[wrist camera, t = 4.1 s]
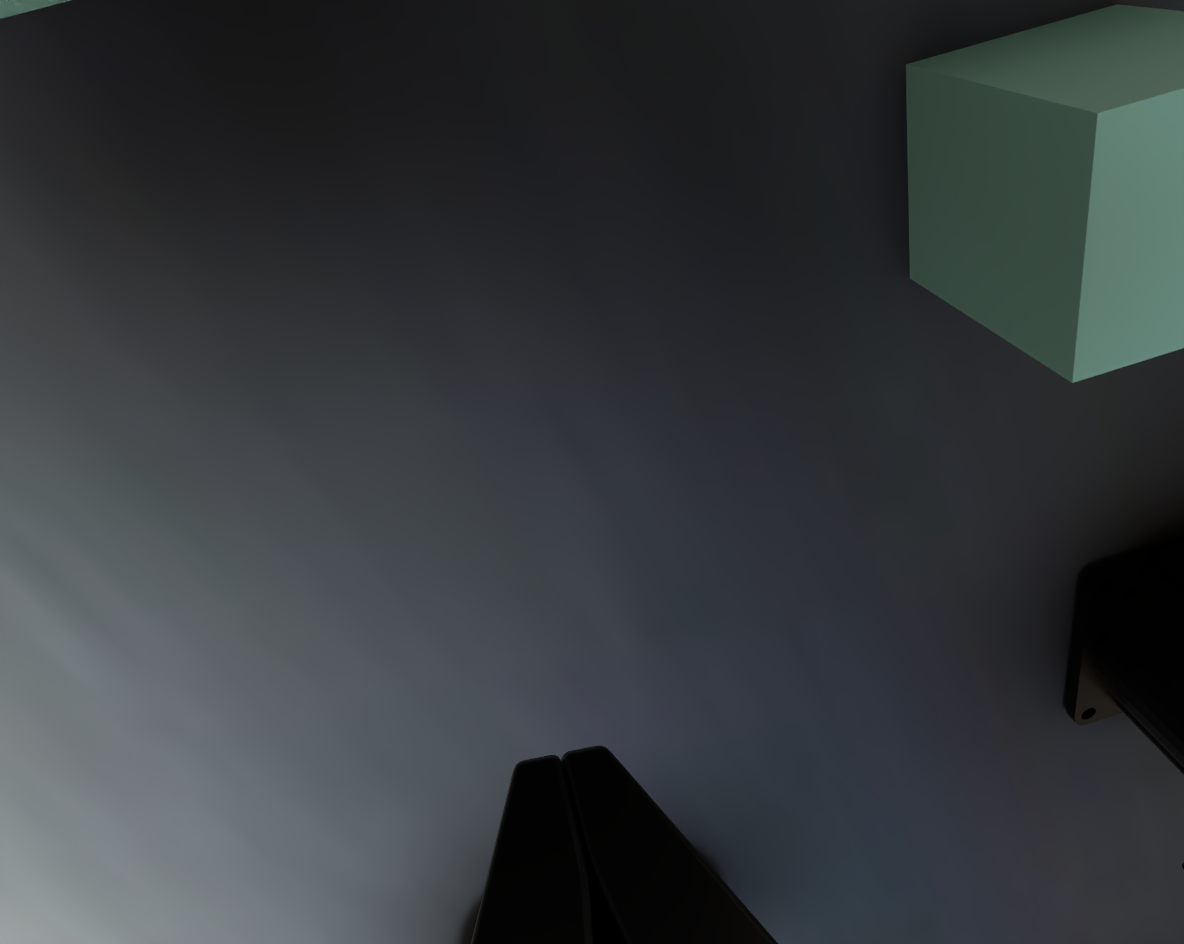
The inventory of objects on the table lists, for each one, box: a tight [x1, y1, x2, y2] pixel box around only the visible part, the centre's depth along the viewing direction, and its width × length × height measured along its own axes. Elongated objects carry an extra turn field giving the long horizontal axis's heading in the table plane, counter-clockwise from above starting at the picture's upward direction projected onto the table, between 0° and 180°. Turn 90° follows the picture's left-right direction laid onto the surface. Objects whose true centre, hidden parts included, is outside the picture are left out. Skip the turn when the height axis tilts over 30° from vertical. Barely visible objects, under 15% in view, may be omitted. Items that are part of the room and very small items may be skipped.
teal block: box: [906, 4, 1184, 383], centre depth 17 cm, size 4×4×6 cm
